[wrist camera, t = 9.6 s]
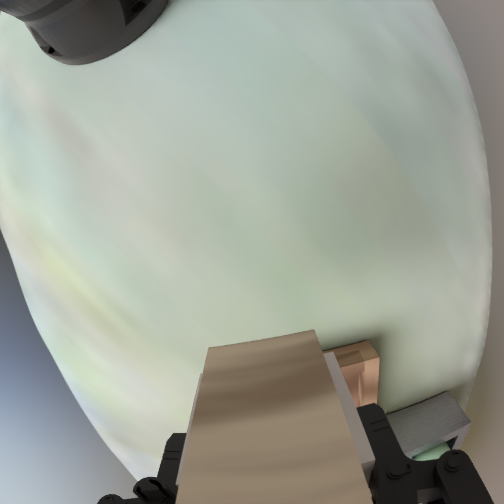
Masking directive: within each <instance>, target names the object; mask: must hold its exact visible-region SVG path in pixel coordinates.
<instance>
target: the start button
mask: <svg viewBox="0 0 504 504" xmlns="http://www.w3.org/2000/svg"><path fill="white" fill-rule="evenodd" d="M449 450H450V448H449V447H448V445H447V443H446V442H444V443H442V444H439V445H437V446H435V447H433V448H431V449H428V450H426V451H424V452H422V453H419V454H417V455H414V456H412V460H416V461H425V460H432V459H439V457H440V456H441V455H442V454H443V453H445V452H446V451H449Z"/></svg>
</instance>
